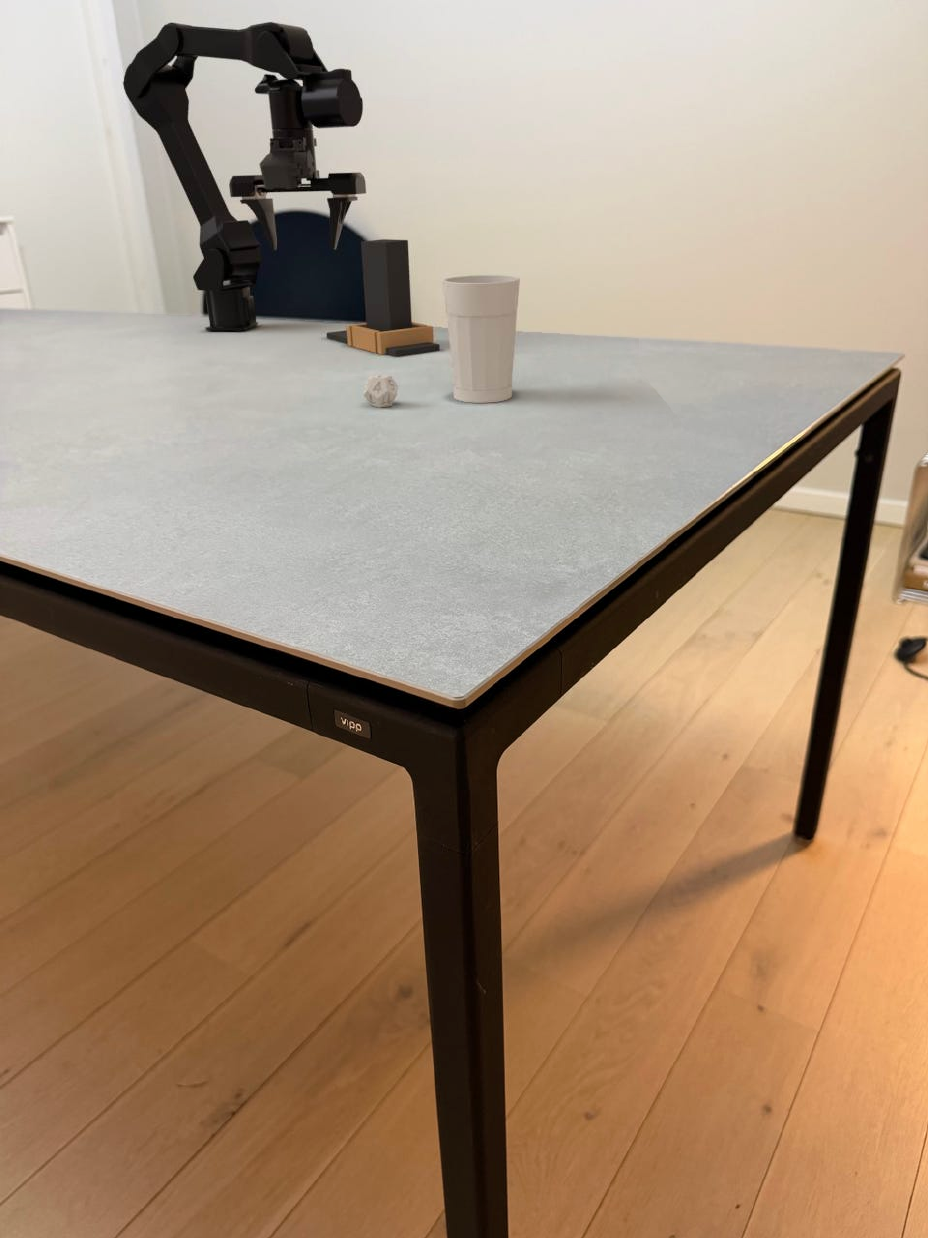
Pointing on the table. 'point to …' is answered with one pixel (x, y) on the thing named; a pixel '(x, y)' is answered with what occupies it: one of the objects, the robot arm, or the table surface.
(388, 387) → the game die
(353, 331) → the wooden tray on slab
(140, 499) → the table surface
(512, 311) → the cup
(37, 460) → the table surface
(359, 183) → the robot arm
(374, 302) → the dark rectangular block
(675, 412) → the table surface
